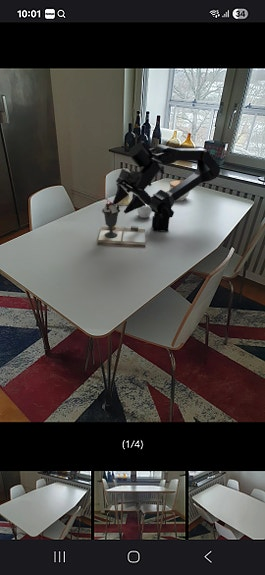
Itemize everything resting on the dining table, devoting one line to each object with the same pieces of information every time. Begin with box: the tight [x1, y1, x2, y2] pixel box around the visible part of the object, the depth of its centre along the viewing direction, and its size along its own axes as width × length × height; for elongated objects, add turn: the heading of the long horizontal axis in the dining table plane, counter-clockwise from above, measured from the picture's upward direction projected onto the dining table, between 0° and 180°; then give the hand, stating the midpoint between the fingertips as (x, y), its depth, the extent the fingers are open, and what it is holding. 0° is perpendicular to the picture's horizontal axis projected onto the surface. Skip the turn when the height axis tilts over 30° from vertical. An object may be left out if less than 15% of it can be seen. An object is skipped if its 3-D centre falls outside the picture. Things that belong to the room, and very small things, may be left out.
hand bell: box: [116, 168, 132, 207], centre depth 152 cm, size 8×8×16 cm
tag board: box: [96, 224, 146, 248], centre depth 124 cm, size 18×14×2 cm
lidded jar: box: [169, 179, 191, 201], centre depth 163 cm, size 11×11×9 cm
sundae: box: [101, 198, 121, 238], centre depth 118 cm, size 7×7×15 cm
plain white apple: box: [136, 204, 153, 219], centre depth 141 cm, size 7×7×8 cm
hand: (118, 208), depth 118 cm, fingers open, 9 cm apart
